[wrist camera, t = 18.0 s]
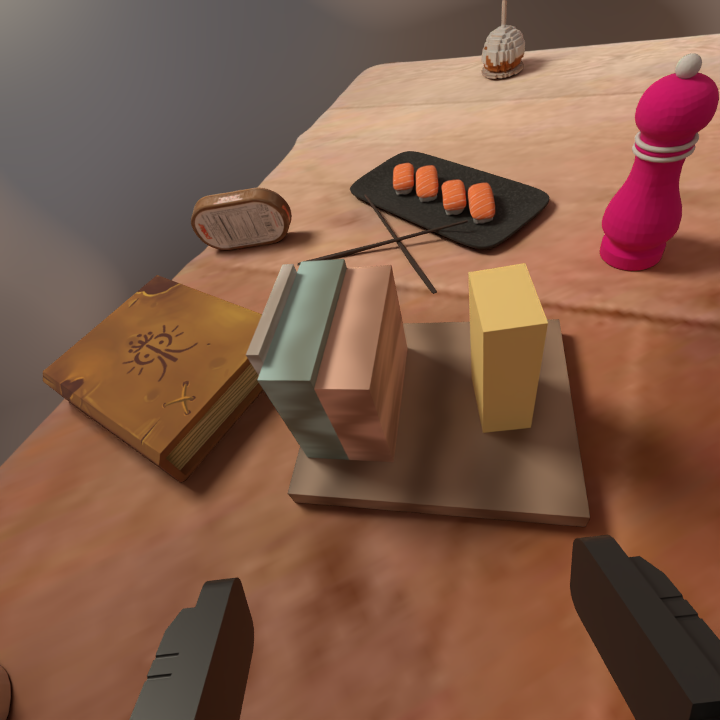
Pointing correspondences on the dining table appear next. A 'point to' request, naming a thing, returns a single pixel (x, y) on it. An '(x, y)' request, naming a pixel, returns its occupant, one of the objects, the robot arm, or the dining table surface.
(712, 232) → the dining table surface
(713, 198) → the dining table surface
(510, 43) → the caramel apple
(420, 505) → the blocks on base plate
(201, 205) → the tin
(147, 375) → the diary
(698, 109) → the pepper mill
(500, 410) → the tall mustard yellow pillar
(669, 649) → the robot arm
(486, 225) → the sushi plate
